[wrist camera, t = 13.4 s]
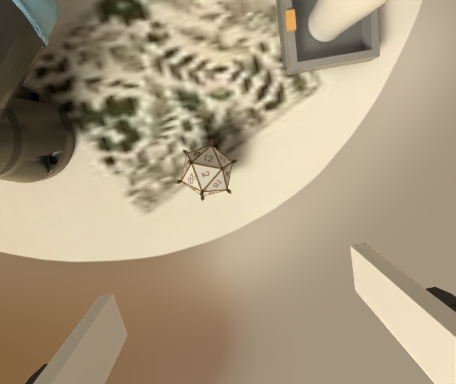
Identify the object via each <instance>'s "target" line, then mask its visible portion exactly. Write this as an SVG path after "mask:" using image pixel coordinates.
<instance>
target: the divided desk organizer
mask: <svg viewBox="0 0 456 384" xmlns="http://www.w3.org/2000/svg"><path fill="white" fill-rule="evenodd" d="M316 2H317V0H276V4H277V13H278V23H279V32H280V42H281V51H282V61H283V68H287V75H290V74H296V73H302V72H308V71H314V70H320V69H326V68H332V67H338V66H344V65H350V64H356V63H362V62H368V61H371V60H373V59H375V58H377V57H379V56H380V50H379V20H378V8H377V9H376V10H375V11H373V12H372V13H370V14H369V15H368V16H366V17H365V18H363V19H362V20H360V21H359V22H357V23H356V24H354V25H353V26H351V27H350V28H348V29H347V30H346V31H344V32H343V33H341V34H340V35H339V36H338V37H337V38H335V39H334V40H332V41H328V42H321V41H318V40H316V39H315V38H314V37H313V36H312V35H311V33H310V31H309V28H308V18H309V15H310V12H311V10H312V9H313V7H314V6H315V4H316Z"/></svg>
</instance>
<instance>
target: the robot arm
mask: <svg viewBox="0 0 456 384" xmlns="http://www.w3.org/2000/svg"><path fill="white" fill-rule="evenodd" d="M58 18H59V6H58V3H57V1H56V0H0V179H1V180H7V181H13V182H19V183H30V182H36V181H41V180H45V179H48V178H51V177H53V176H55V175H56V174H58V173H59V172H60V171H62V170H63V169H64V167H65V166H66V165H67V163H68V162H69V160H70V158H71V155H72V152H73V148H74V133H73V128H72V125H71V122H70V119H69V117H68V115H67V113H66V112H65V110H64V109H63V108H62V106H61V105H60V104H59V103H58V102H57V101H56V100H55V99H54V98H53V97H52V96H50V95H49V94H47V93H46V92H44V91H42V90H40V89H38V88H35V87H32V86H28V85H24V84H23V82H24V80H25V79H26V77H27V75H28V73H29V72H30V70H31V68H32V67H33V65H34V63H35V61H36V60H37V58H38V56H39V55H40V53H41V51H42V49H43V48H44V47H45V48H46V47H47V46H48V44H49V43H48V39H49V37H50V35H51V33H52V31H53V29H54V27H55V25H56V23H57V21H58ZM351 255H352V264H353V274H354V282H355V290H356V292H357V293H358V294H359V295H360V296H361V298H362V299H363V300H364V301H365V302H366V303H367V305H368V306H369V307H370V308H371V309H372V311H373V312H374V313H375V314H376V315H377V316H378V318H379V319H380V320H381V321H382V322H383V323H384V324H385V326H386V327H387V328H388V329H389V330H390V332H391V333H392V334H393V335H394V336H395V338H396V339H397V340H398V341H399V342H400V343H401V345H402V346H403V347H404V348H405V349H406V350H407V352H408V353H409V354H410V355H411V356H412V357H413V359H414V360H415V361H416V362H417V363H418V365H419V366H420V367H421V368H422V369H423V371H424V372H425V373H426V374H427V375H428V376H429V378H430V379H431V380H432V381H433V382H434V383H435V384H456V297H455V296H454V295H452V294H451V293H448V292H446V291H444V290H441V289H439V288H436V287H432V288H428V289H424V288H423V287H422V286H421V285H419V284H418V283H417V282H415V281H414V280H413V279H411V278H410V277H409V276H408V275H406V274H405V273H404V272H402V271H401V270H400V269H398V268H397V267H396V266H394V265H393V264H392V263H391V262H389V261H388V260H386V259H385V258H384V257H383V256H381V255H380V254H379V253H377V252H376V251H375V250H373V249H372V248H371V247H370V246H368V245H367V244H366V243H361V244H356V245H351ZM126 337H127V332H126V329H125V327H124V324H123V321H122V318H121V315H120V312H119V309H118V307H117V304H116V301H115V298H114V295H113V293H112V294H108V295H103V296H99V297H98V299H97V300H96V301H95V303H94V304H93V305H92V307H91V308H90V309H89V311H88V312H87V313H86V314H85V316H84V317H83V318H82V320H81V321H80V322H79V324H78V325H77V326H76V328H75V329H74V330H73V332H72V333H71V334H70V336H69V337H68V338H67V340H66V341H65V342H64V344H63V345H62V346H61V347H60V349H59V350H58V351H57V353H56V354H55V356H54V357H53V358H52V359H51V361H50V362H49V363H48V364H44V365H43V366H42V367H41V368H40V369H39V370H38V371H37V372H36V373H34V374H33V375H32V376H31V377H30V378H29V380H28V381H27V382H26V383H25V384H105V382H106V380H107V378H108V376H109V374H110V372H111V369H112V367H113V365H114V363H115V361H116V359H117V357H118V354H119V352H120V350H121V348H122V346H123V344H124V342H125V340H126Z"/></svg>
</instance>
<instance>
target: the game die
mask: <svg viewBox="0 0 456 384" xmlns="http://www.w3.org/2000/svg"><path fill="white" fill-rule="evenodd" d="M213 143H214V142H213V139H212V140H211V141H210V145H209V146H207V147H204V148H201V149H198V150H195V151H192V152H189V153H188V152H187V151H186V150H183V152H184V153H185V154H186V159H185V164H184V169H183V173H182V178H181V180H177V182H176V183H178V184H179V183H181V182H183V183H184V184H186V185H187V186H188V187H190V188H191V189H193V190H194V191H196V192H197V193H199V194H200V195H201V196H202V197H201V199H202V201H203V200H204V196H206V195H210V194H214V193H218V192H222V191H227V192H228V193H231V191H230V189H228V184H229V179H230V173H231V168H232V163H236V162H237V160H235V159H234V160H233V161H230V160H229V159H228V158H227V157H226V156H224V155H223V154H222V153H221V152H220V151H218V150H217V149H216V148H215V147H214V146H213ZM231 194H232V193H231Z"/></svg>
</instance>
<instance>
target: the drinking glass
mask: <svg viewBox="0 0 456 384" xmlns="http://www.w3.org/2000/svg"><path fill="white" fill-rule="evenodd" d="M386 1H387V0H317V2H316V4H315V6H314V7H313V9H312V10H311V12H310V15H309V18H308V28H309V31H310V33H311V35H312V36H313V37H314V38H315V39H316V40H318V41H321V42H328V41H332V40H334V39H335V38H337V37H338V36H339V35H340V34H341V33H343V32H344V31H346V30H347V29H348V28H350V27H351V26H353V25H354V24H356V23H357V22H359V21H360V20H362V19H363V18H365V17H366V16H368V15H369V14H370V13H372V12H373V11H375V10H376V9H377V8H379V7H380V6H381V5H383V4H384V3H385V2H386Z"/></svg>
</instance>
